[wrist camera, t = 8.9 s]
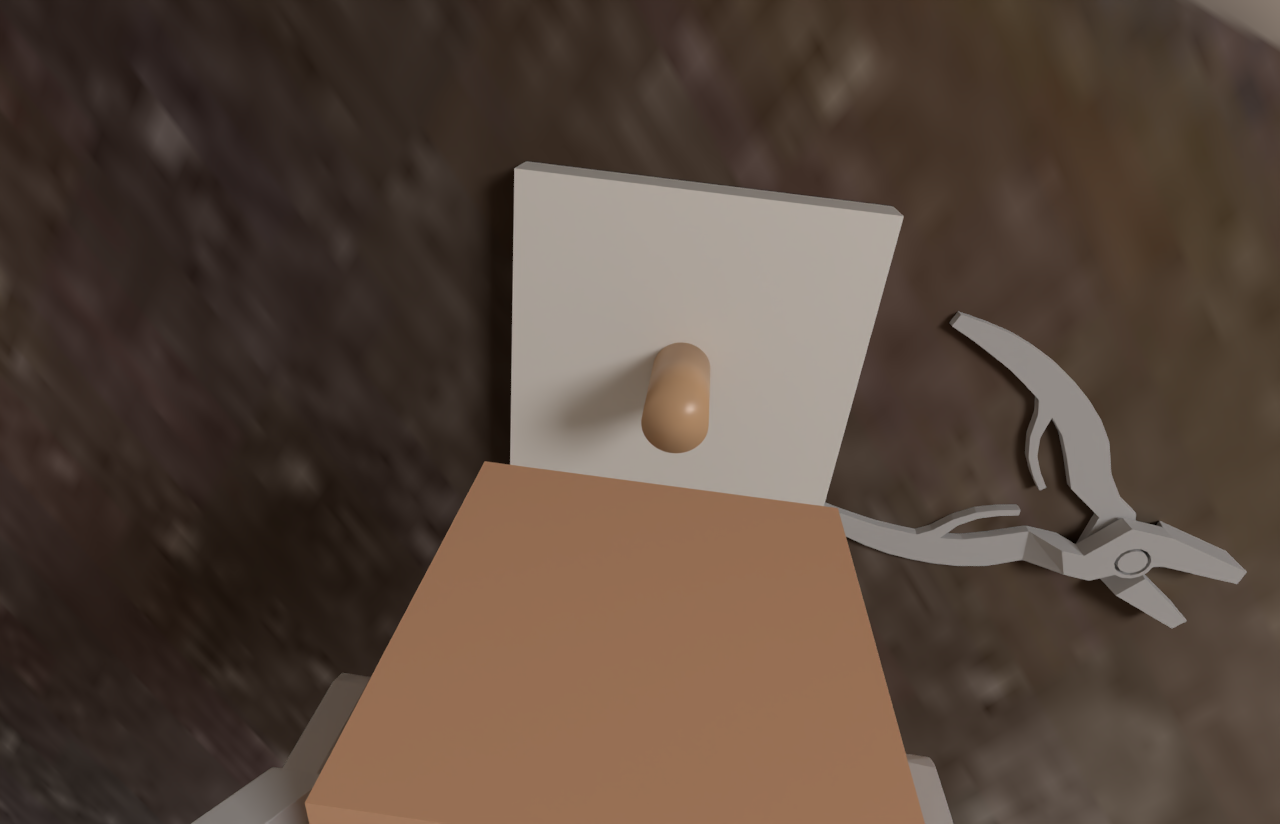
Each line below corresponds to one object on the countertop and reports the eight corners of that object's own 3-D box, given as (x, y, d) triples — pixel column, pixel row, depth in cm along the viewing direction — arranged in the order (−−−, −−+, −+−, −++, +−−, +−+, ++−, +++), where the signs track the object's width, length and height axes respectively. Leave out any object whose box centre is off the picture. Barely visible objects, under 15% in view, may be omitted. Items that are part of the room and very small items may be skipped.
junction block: (812, 509, 28) (831, 605, 23) (519, 467, 28) (478, 553, 24) (892, 206, 22) (940, 249, 17) (526, 161, 23) (473, 191, 18)
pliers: (974, 317, 23) (1327, 512, 24) (959, 301, 24) (1294, 487, 26) (805, 528, 27) (1114, 680, 29) (801, 505, 28) (1096, 651, 30)
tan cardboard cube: (769, 739, 14) (805, 1140, 9) (487, 699, 15) (363, 1069, 9) (837, 508, 12) (945, 896, 6) (484, 461, 12) (305, 803, 7)
